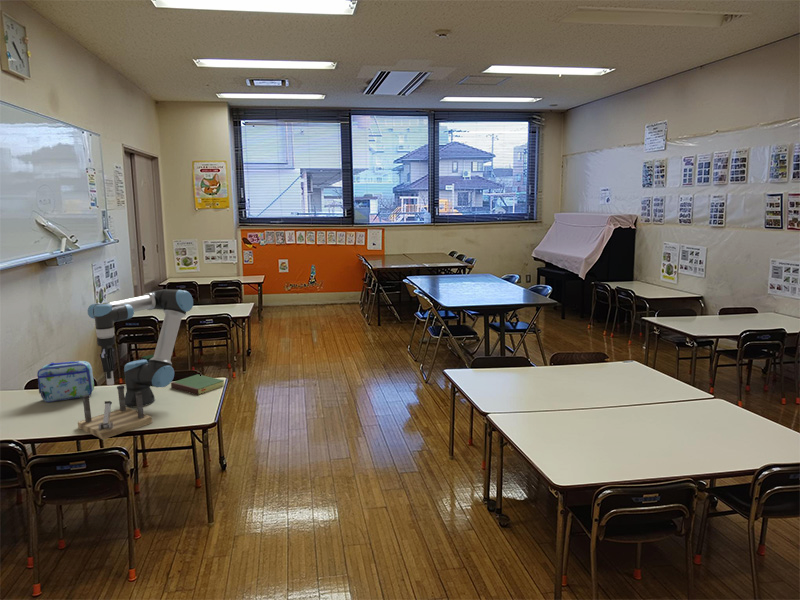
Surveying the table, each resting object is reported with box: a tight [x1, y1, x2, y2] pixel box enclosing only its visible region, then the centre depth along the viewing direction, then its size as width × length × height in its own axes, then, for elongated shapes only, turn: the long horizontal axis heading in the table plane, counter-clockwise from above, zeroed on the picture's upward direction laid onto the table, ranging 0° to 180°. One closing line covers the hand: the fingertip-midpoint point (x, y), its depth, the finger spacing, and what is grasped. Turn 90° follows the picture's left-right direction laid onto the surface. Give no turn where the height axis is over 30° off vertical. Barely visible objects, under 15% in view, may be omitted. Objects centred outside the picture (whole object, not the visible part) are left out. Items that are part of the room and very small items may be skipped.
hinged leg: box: [102, 400, 112, 429], centre depth 260 cm, size 13×3×2 cm
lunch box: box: [36, 360, 95, 403], centre depth 309 cm, size 26×11×21 cm, turn 108°
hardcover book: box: [170, 373, 225, 396], centre depth 326 cm, size 25×19×4 cm
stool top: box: [77, 384, 153, 440], centre depth 269 cm, size 24×24×16 cm
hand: (110, 384), depth 267 cm, fingers closed
